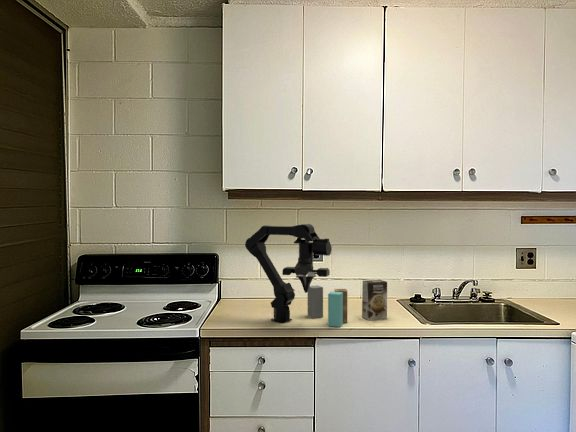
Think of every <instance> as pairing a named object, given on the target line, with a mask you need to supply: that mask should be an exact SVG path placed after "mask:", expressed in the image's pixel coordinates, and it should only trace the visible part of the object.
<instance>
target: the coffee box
mask: <svg viewBox="0 0 576 432" xmlns="http://www.w3.org/2000/svg"><path fill="white" fill-rule="evenodd" d="M361 286H362V290H361V291H362V293H361V294H362V296H361V298H362V299H361V301H362V302H361V306H362V307H361V308H362V309H361V317H362V318H363V319H365V320H367V321H375V320H377V321H378V320H388V281H385V280H382V279H373V280H372V279H371V280H370V279H369V280H362V285H361Z"/></svg>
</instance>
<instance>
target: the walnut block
mask: <svg viewBox="0 0 576 432" xmlns="http://www.w3.org/2000/svg"><path fill="white" fill-rule="evenodd" d="M334 292H343V323H348V288H334Z"/></svg>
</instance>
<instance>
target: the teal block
mask: <svg viewBox="0 0 576 432" xmlns="http://www.w3.org/2000/svg"><path fill="white" fill-rule="evenodd" d="M327 298H328V299H327V309H328V310H327V312H328V313H327V315H328V316H327V326H328V327H337V328H341V327H342V325H343V324H344V322H343V292H335V291H330V292H329V293H328V294H327Z"/></svg>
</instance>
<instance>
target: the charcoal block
mask: <svg viewBox="0 0 576 432" xmlns="http://www.w3.org/2000/svg"><path fill="white" fill-rule="evenodd" d="M307 316H308V317H310V318H312V319H316V318H317V319H318V318H323V317H324V286H320V285H318V284H317V285H310V286H309V289H308V292H307Z"/></svg>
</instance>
